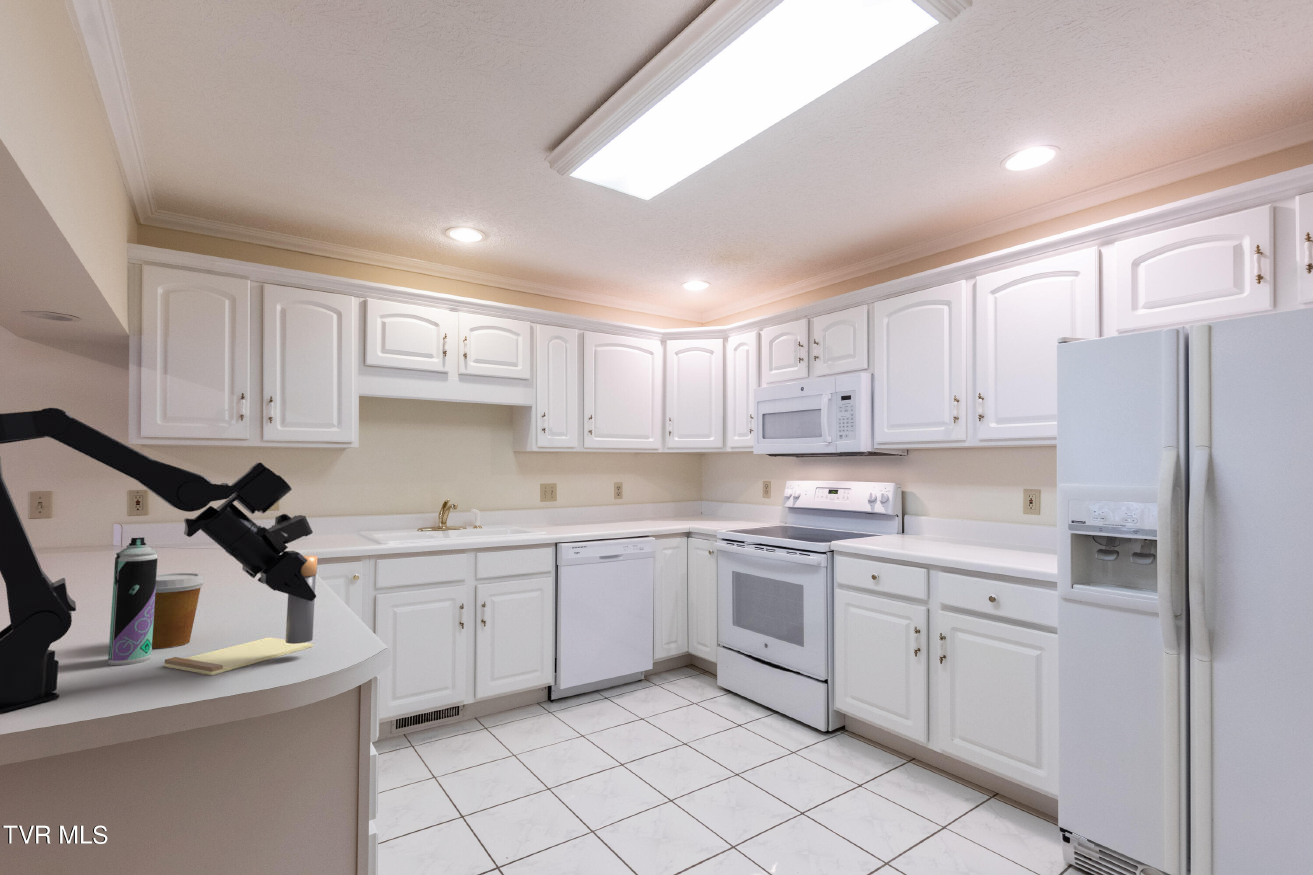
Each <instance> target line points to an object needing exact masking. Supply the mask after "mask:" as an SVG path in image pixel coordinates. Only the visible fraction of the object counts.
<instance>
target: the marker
mask: <svg viewBox="0 0 1313 875" xmlns="http://www.w3.org/2000/svg"><path fill="white" fill-rule="evenodd" d="M302 556H303V557H304V558H306V559H307V562H306V563H305V564H304V565H303V566H302V570H301V573H302V575H303V577H304V578H305V580H306V581H307V583H308V584H309V586H310V587H311V589H312V590H313V592H314V593H315V594H316V583H317V582H316V580H317V579H316V578H317V571H318V556H317V555H309V554H308V555H307V554H306V555H302ZM315 599H316V598H315ZM315 599H314V600H313V601H309V600H305V599H302V598H299V597H296V596H292V595H289V594H287V604H286V605H287V609H286V622H285V624H286V625H285V626H286V628H285V640H286V643H290V644H298V643H310V642H312V641H313V640H314V639H313V637H314V620H315V619H314V618H315Z"/></svg>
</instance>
